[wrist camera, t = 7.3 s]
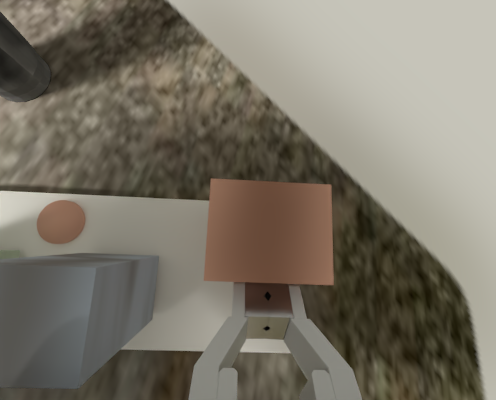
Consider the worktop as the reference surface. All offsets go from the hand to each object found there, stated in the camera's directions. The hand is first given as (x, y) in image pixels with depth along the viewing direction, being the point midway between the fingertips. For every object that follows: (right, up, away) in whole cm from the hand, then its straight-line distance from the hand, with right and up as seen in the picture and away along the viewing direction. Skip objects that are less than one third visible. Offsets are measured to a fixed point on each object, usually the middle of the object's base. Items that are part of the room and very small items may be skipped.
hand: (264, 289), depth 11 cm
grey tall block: (-9, -1, +4) cm, 10 cm away
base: (-9, -1, +6) cm, 11 cm away
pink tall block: (0, +2, +5) cm, 6 cm away
